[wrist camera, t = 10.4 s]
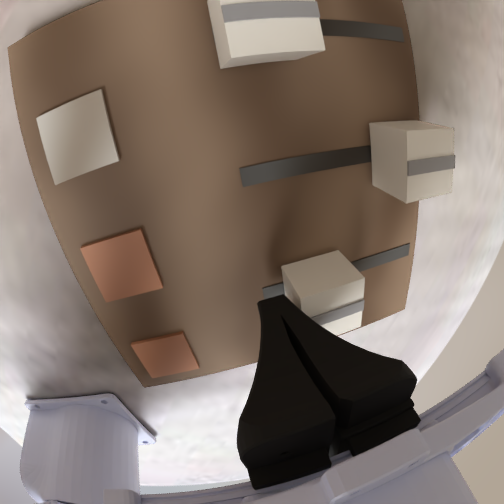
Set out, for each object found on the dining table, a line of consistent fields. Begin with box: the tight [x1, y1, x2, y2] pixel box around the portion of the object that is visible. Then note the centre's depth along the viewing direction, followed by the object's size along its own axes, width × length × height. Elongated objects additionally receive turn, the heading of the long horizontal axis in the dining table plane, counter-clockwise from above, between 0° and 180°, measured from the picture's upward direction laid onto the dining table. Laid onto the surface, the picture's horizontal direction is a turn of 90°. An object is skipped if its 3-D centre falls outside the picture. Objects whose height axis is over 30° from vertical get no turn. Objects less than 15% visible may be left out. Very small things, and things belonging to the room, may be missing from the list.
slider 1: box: [207, 0, 325, 69], centre depth 8 cm, size 3×3×3 cm
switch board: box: [8, 0, 419, 388], centre depth 13 cm, size 18×20×1 cm
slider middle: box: [369, 120, 455, 204], centre depth 11 cm, size 3×3×3 cm
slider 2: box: [281, 250, 365, 336], centre depth 14 cm, size 3×3×3 cm
